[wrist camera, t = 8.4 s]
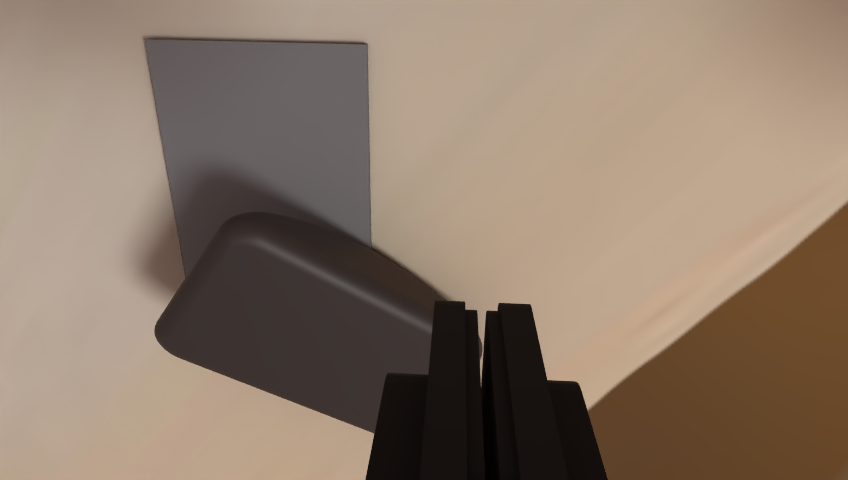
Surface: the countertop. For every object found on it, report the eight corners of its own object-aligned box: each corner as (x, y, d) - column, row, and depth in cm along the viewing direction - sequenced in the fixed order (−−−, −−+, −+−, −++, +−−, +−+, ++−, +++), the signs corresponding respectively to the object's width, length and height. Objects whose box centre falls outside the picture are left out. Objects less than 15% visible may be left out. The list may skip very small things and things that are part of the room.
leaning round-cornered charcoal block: (244, 171, 28) (162, 297, 32) (230, 215, 25) (139, 353, 28) (479, 303, 35) (392, 396, 38) (497, 353, 31) (399, 451, 35)
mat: (367, 43, 28) (366, 44, 27) (372, 318, 34) (372, 321, 34) (148, 38, 28) (144, 39, 28) (194, 313, 34) (192, 316, 34)
